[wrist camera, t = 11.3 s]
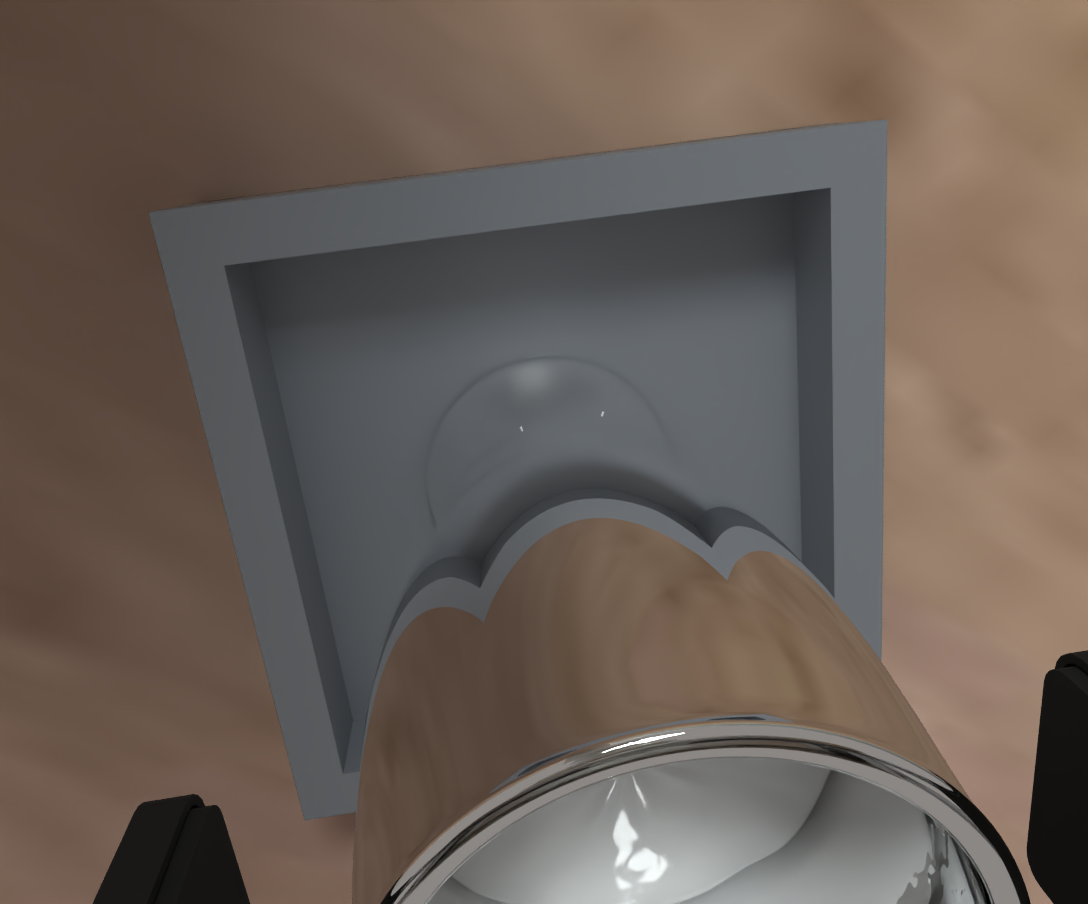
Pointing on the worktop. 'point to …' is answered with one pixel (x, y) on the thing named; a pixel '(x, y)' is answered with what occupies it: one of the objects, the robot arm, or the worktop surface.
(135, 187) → the worktop surface
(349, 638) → the slate tray
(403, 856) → the beer glass
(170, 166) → the worktop surface
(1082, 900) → the robot arm
